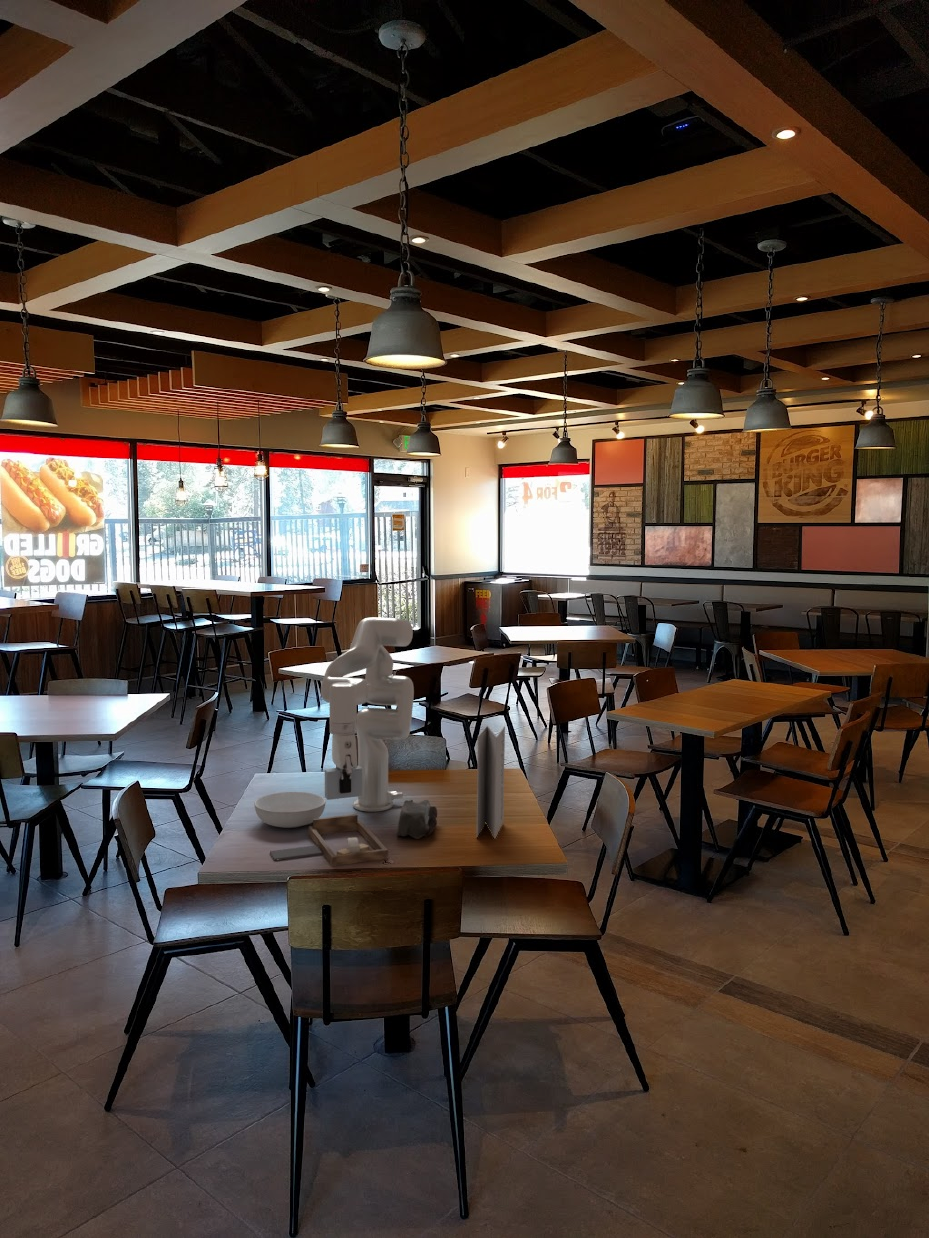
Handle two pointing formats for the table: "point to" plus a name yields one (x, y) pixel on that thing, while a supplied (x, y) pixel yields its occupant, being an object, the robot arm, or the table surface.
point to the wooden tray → (343, 825)
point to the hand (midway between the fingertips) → (343, 790)
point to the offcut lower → (362, 848)
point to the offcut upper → (353, 845)
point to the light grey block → (334, 783)
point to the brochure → (490, 780)
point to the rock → (417, 819)
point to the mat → (296, 852)
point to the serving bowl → (289, 808)
